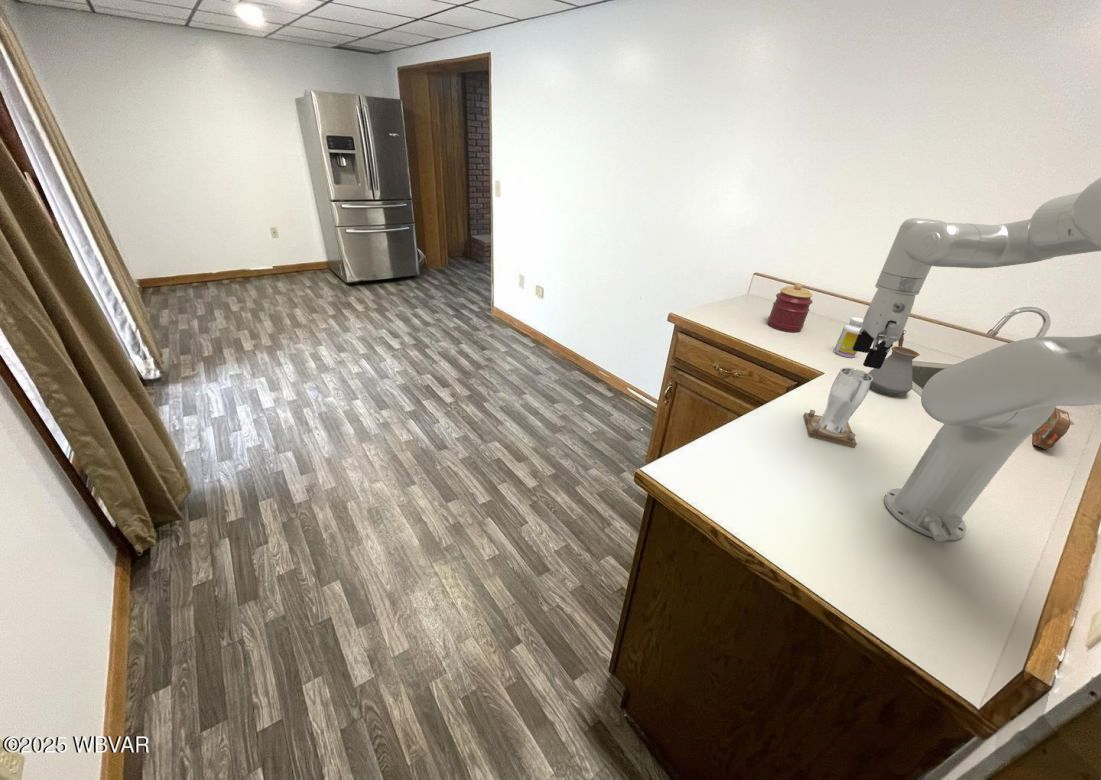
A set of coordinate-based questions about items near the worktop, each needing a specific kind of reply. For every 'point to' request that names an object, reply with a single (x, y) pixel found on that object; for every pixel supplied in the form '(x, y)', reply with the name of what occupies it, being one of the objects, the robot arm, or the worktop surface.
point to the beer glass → (844, 399)
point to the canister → (790, 309)
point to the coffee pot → (895, 371)
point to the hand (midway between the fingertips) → (865, 358)
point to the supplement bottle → (848, 338)
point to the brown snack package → (1051, 429)
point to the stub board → (819, 433)
